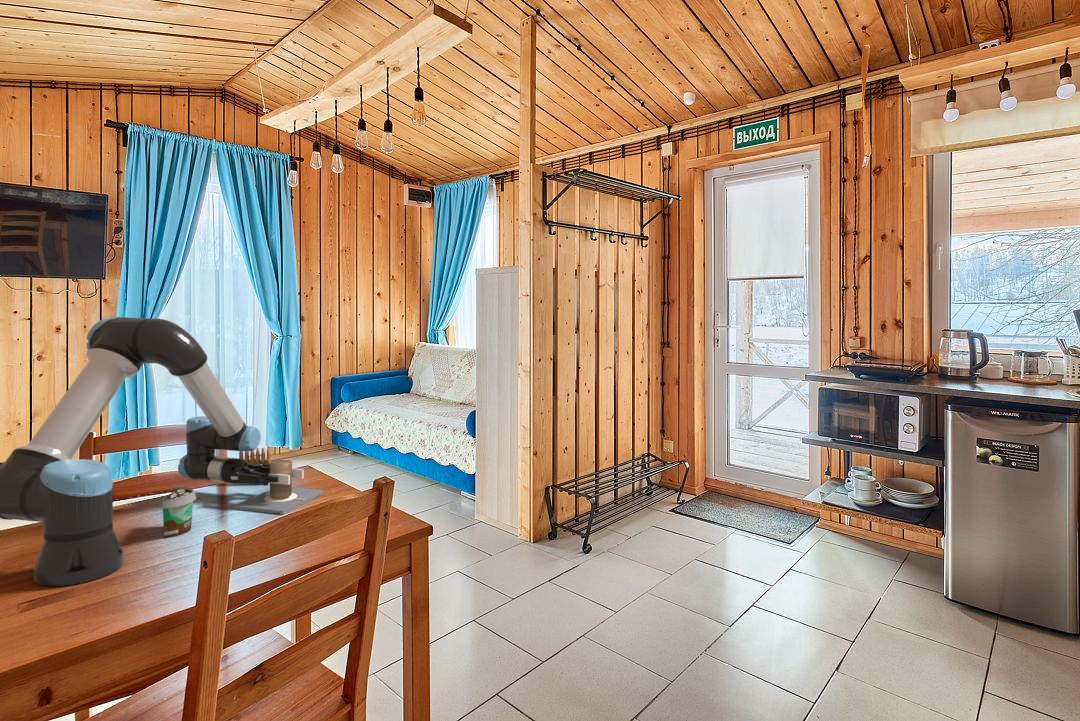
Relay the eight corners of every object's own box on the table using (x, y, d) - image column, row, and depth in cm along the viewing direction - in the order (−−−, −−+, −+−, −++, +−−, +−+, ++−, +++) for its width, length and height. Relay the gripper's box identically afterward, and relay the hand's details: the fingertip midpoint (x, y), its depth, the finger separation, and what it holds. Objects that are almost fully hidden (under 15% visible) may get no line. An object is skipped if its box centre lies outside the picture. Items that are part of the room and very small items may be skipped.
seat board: (283, 514, 161) (283, 510, 161) (233, 509, 164) (233, 504, 164) (323, 493, 181) (323, 489, 180) (278, 488, 184) (278, 485, 184)
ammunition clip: (272, 482, 190) (272, 447, 189) (270, 484, 188) (270, 448, 187) (239, 482, 190) (239, 446, 189) (237, 483, 188) (236, 447, 187)
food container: (191, 537, 143) (190, 498, 142) (162, 540, 141) (161, 500, 140) (200, 520, 155) (199, 484, 154) (174, 523, 152) (173, 486, 152)
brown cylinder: (283, 498, 169) (284, 465, 168) (265, 496, 170) (265, 463, 169) (295, 493, 175) (296, 460, 174) (277, 491, 176) (278, 459, 175)
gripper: (250, 474, 185) (314, 480, 180) (204, 491, 166) (275, 498, 162) (250, 451, 184) (314, 457, 180) (204, 465, 166) (275, 472, 161)
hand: (296, 476), depth 171 cm, fingers closed on brown cylinder, 6 cm apart
